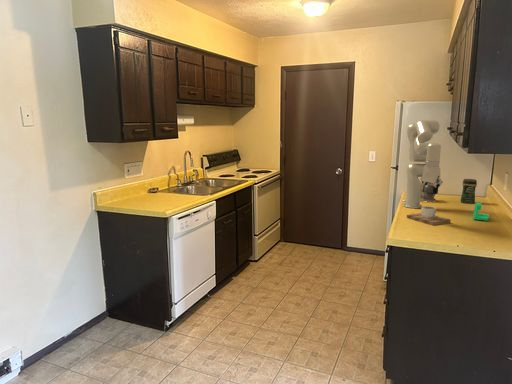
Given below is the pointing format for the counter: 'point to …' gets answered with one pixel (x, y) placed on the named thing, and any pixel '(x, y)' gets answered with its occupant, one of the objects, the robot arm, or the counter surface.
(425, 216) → the pipe flange plate
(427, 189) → the grey sphere
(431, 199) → the tankard
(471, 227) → the counter surface
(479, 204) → the camera mount
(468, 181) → the coffee jar
